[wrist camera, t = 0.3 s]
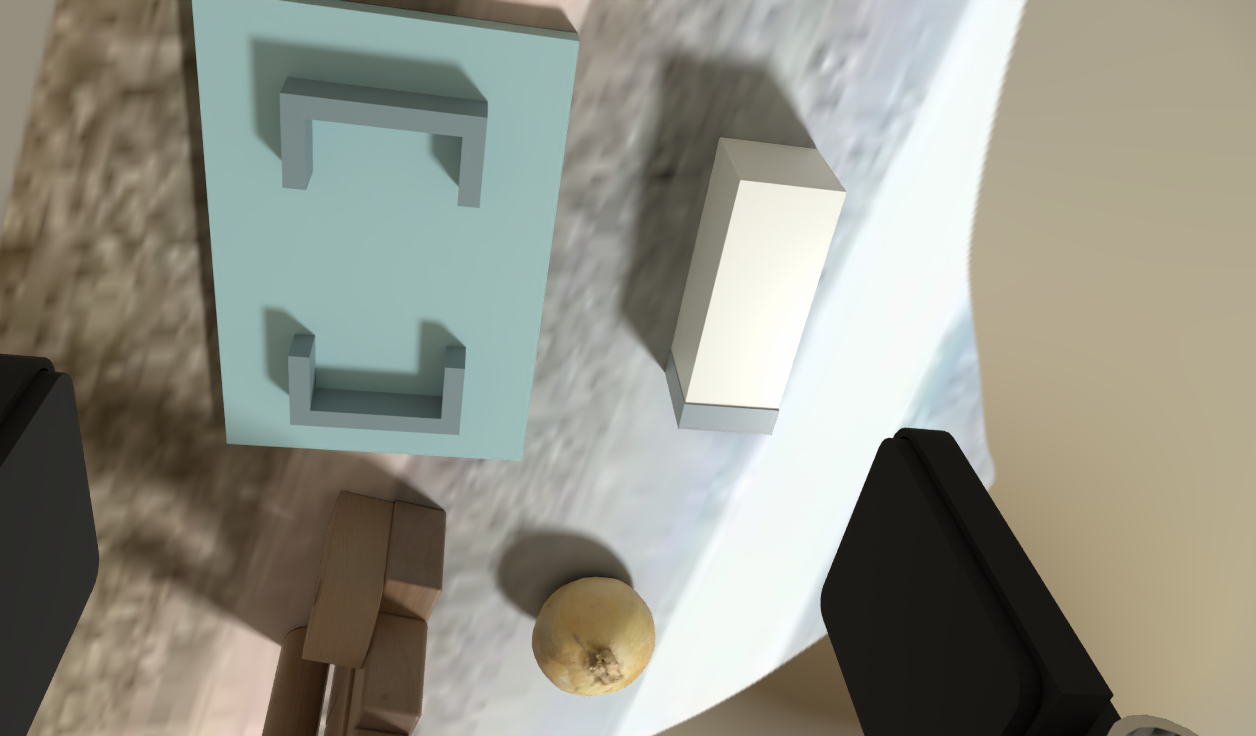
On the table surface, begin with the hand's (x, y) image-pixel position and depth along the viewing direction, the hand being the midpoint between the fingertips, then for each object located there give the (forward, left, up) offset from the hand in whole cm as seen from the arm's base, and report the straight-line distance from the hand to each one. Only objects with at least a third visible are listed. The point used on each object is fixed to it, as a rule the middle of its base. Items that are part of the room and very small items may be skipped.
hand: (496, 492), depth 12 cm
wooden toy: (+41, -5, -36) cm, 54 cm away
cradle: (+17, -4, -36) cm, 40 cm away
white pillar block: (+16, +14, -36) cm, 41 cm away
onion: (+42, +10, -36) cm, 56 cm away
